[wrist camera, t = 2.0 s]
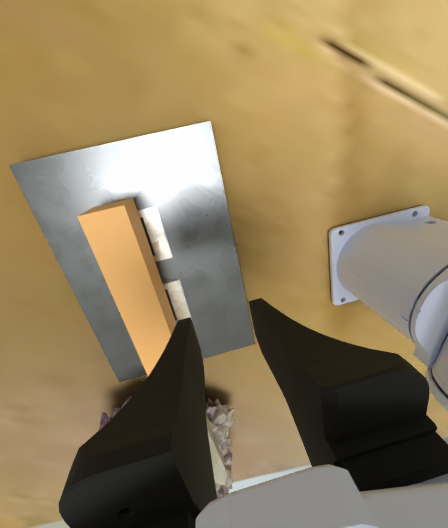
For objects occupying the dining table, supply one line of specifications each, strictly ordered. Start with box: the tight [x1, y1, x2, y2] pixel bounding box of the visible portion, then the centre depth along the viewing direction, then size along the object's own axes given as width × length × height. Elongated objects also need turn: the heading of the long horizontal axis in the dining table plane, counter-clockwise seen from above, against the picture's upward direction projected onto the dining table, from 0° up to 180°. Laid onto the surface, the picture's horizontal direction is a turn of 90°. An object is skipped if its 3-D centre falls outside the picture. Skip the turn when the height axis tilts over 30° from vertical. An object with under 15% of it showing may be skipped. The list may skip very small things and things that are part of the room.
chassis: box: [9, 121, 255, 382], centre depth 21 cm, size 13×19×2 cm
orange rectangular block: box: [77, 198, 176, 376], centre depth 19 cm, size 16×4×4 cm, turn 12°
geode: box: [99, 396, 235, 499], centre depth 26 cm, size 17×9×15 cm
